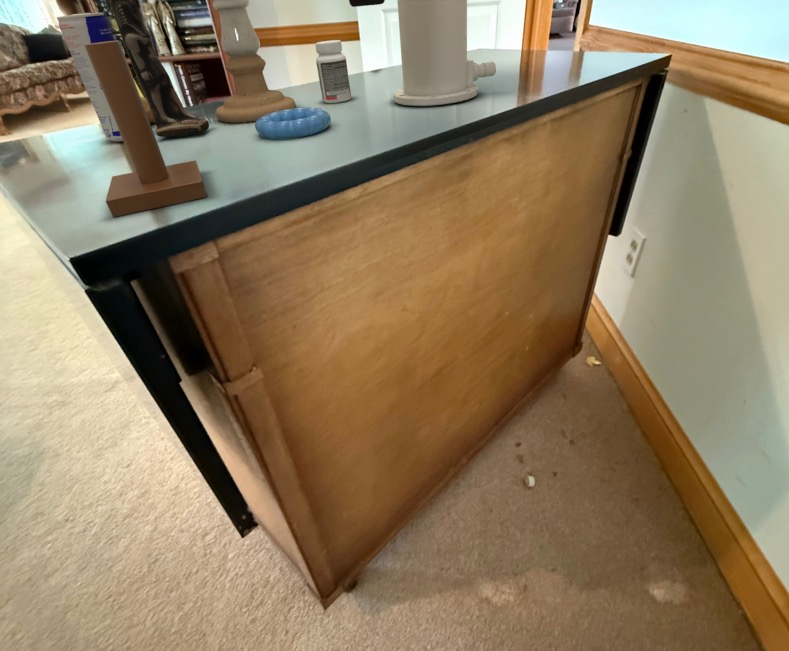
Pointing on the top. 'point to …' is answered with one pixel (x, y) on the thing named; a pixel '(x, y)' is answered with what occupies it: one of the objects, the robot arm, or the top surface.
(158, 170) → the brown upside-down t-shape
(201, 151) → the top surface
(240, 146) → the top surface
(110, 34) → the white blue box
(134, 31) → the statue
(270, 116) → the ring
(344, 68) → the pill bottle
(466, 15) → the robot arm
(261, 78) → the candle holder
